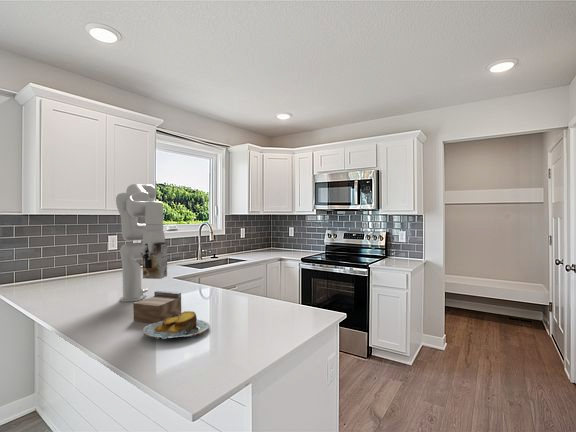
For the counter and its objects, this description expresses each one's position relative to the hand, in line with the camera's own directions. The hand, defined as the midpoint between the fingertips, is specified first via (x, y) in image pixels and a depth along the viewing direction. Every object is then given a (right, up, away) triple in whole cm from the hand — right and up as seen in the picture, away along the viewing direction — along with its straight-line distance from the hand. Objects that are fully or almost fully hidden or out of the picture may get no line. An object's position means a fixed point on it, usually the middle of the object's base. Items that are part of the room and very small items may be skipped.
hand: (155, 266), depth 143 cm
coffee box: (0, -5, 0) cm, 5 cm away
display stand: (+1, -24, +1) cm, 24 cm away
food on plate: (+16, -24, -18) cm, 34 cm away
